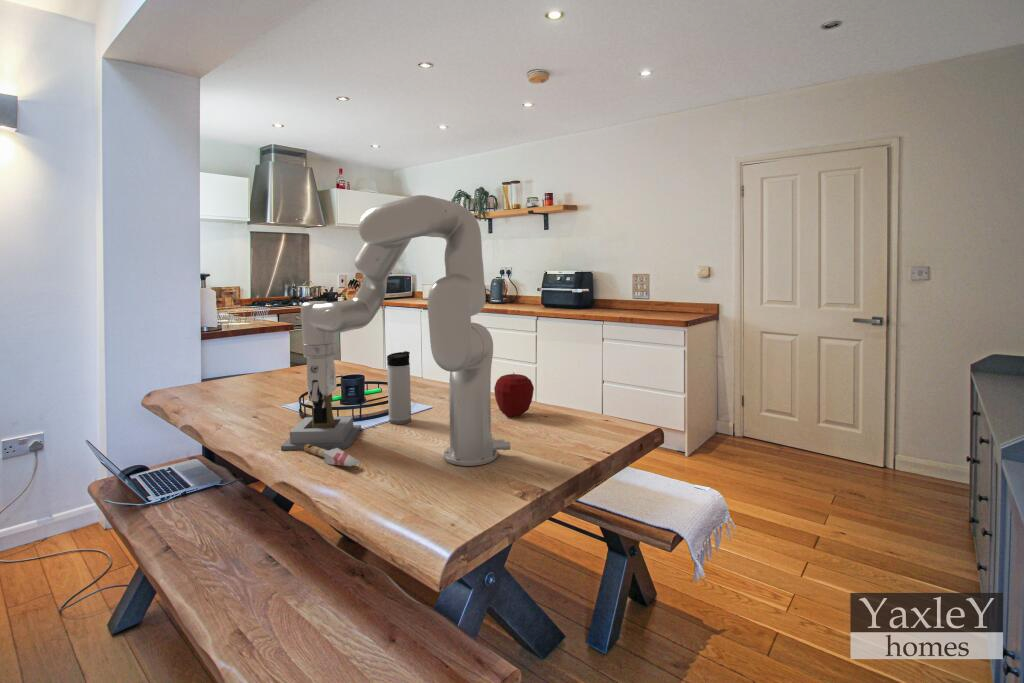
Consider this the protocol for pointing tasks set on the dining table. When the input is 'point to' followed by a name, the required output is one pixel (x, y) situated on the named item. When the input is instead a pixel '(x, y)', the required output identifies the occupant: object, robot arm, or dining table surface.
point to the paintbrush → (332, 456)
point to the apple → (513, 394)
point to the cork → (330, 418)
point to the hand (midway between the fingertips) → (323, 419)
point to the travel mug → (399, 388)
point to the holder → (322, 435)
